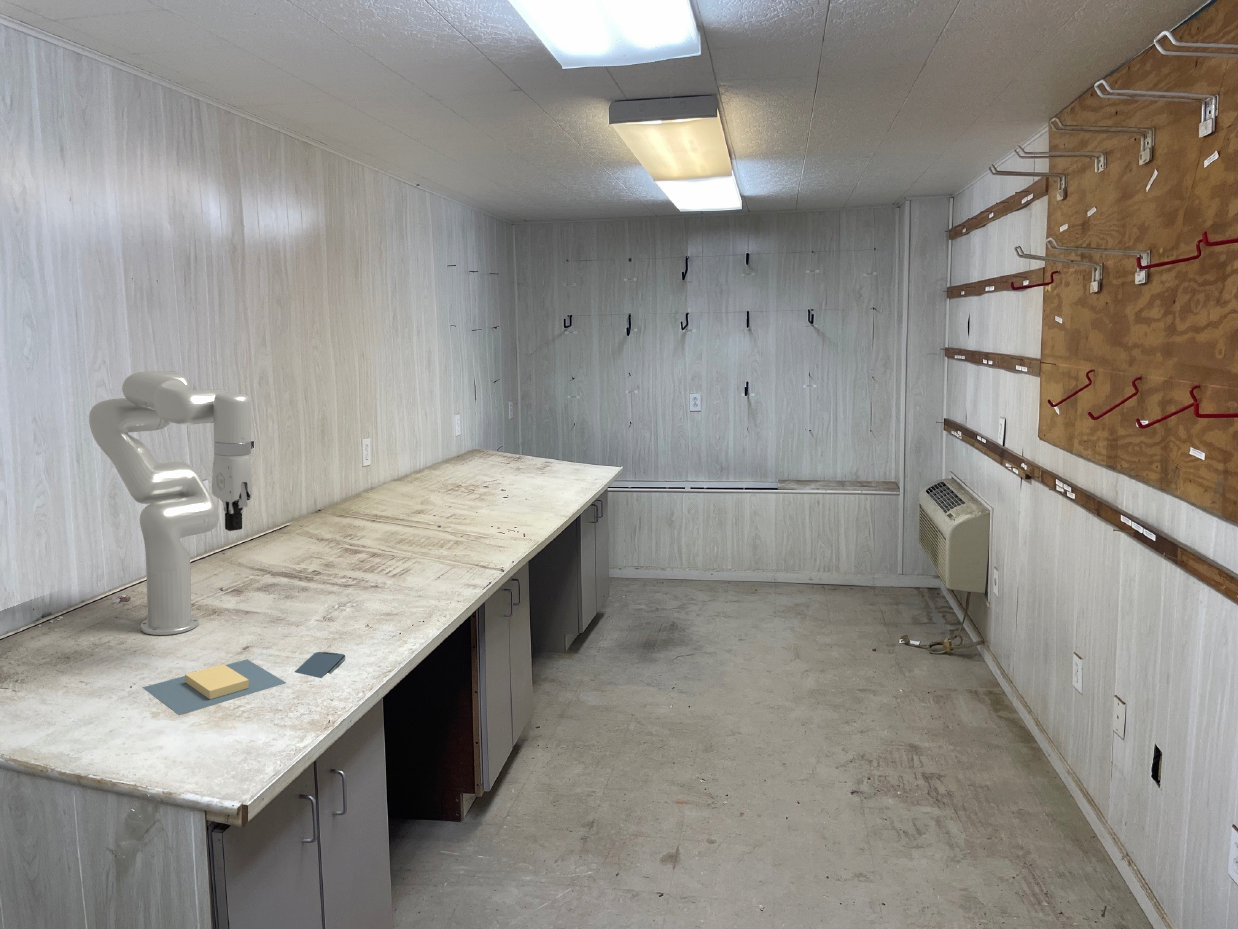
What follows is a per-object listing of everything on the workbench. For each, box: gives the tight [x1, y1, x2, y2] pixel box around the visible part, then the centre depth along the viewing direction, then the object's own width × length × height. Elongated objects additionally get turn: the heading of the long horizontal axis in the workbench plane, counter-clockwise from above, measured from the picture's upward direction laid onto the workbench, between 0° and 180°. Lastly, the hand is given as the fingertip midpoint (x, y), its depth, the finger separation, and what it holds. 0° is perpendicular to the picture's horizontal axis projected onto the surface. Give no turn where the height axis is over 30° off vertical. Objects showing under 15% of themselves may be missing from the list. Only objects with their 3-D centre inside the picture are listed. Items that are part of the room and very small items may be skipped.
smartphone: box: [294, 651, 346, 679], centre depth 189 cm, size 8×2×15 cm
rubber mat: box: [142, 658, 287, 716], centre depth 177 cm, size 17×22×1 cm
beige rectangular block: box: [184, 663, 249, 699], centre depth 176 cm, size 2×8×11 cm
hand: (233, 529), depth 191 cm, fingers closed
